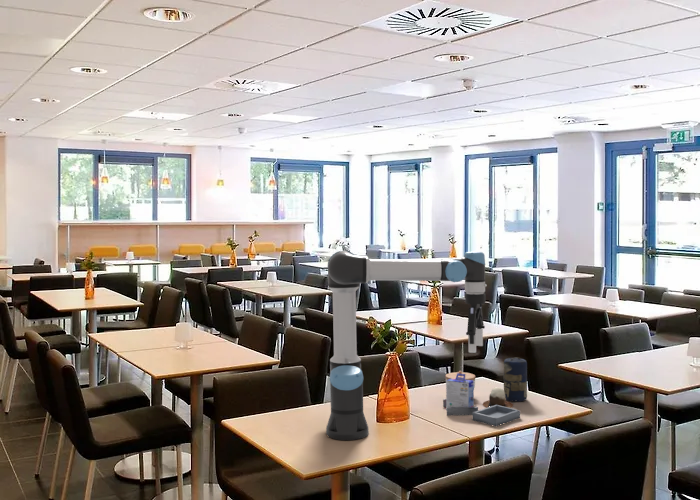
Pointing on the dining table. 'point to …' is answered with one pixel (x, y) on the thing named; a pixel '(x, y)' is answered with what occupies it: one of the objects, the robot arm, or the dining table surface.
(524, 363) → the canister
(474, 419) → the tray
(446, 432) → the dining table surface
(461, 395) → the ink cartridge box
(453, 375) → the lidded bowl
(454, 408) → the dock rails
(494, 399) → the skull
